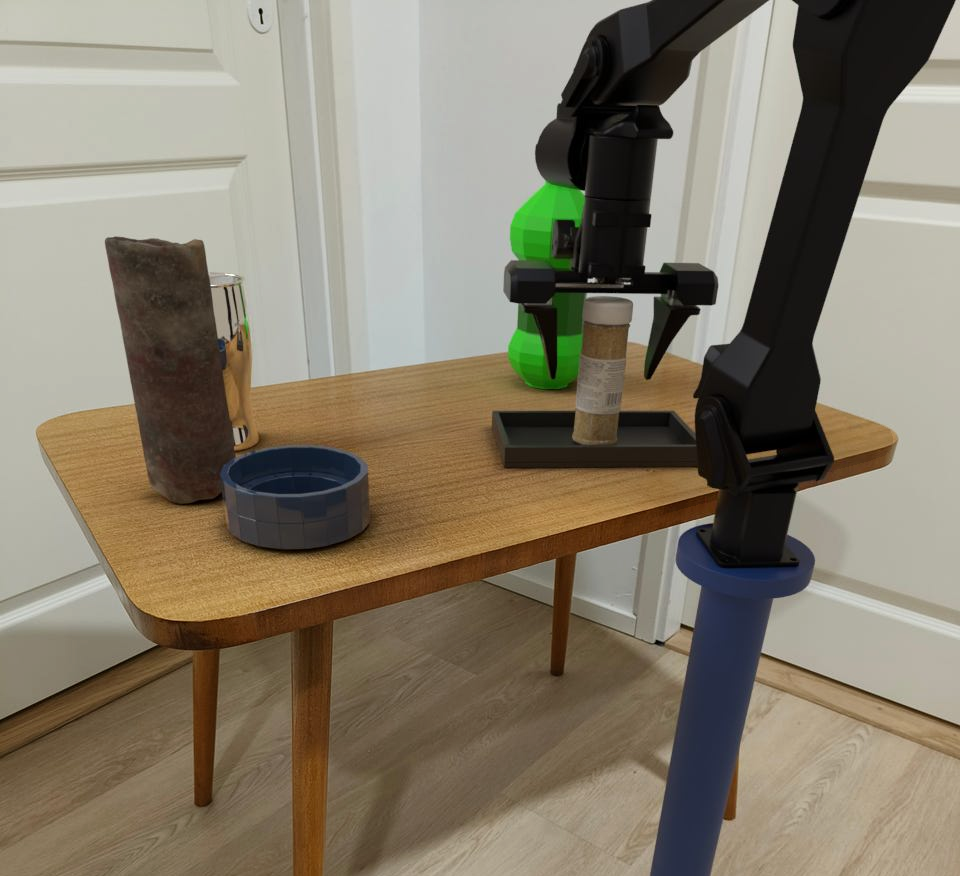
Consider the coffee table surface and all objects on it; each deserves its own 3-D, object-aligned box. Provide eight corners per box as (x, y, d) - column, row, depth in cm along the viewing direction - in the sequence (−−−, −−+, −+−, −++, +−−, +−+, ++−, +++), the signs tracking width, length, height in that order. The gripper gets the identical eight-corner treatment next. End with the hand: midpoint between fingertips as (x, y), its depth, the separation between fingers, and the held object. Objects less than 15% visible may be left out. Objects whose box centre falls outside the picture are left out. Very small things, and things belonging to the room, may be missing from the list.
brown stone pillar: (134, 485, 77) (87, 232, 67) (211, 466, 81) (179, 226, 71) (175, 512, 72) (132, 245, 62) (255, 491, 77) (227, 238, 66)
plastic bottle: (562, 369, 114) (579, 146, 101) (604, 391, 106) (628, 151, 93) (491, 375, 111) (499, 145, 98) (529, 399, 102) (543, 151, 89)
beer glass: (278, 439, 88) (263, 278, 80) (226, 459, 83) (204, 288, 75) (227, 425, 91) (209, 269, 83) (174, 444, 86) (149, 278, 78)
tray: (703, 466, 85) (707, 446, 84) (504, 467, 83) (505, 447, 82) (671, 429, 95) (674, 410, 93) (491, 429, 93) (492, 410, 92)
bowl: (369, 552, 67) (367, 496, 65) (217, 554, 66) (209, 497, 64) (370, 495, 77) (368, 444, 74) (237, 496, 76) (231, 445, 73)
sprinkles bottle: (601, 433, 91) (616, 294, 84) (626, 446, 88) (643, 302, 81) (562, 437, 89) (574, 295, 83) (586, 451, 86) (601, 303, 79)
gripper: (694, 190, 85) (671, 357, 93) (500, 186, 83) (494, 356, 91) (733, 203, 75) (704, 387, 84) (515, 198, 74) (506, 387, 82)
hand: (599, 378), depth 85 cm, fingers open, 9 cm apart
